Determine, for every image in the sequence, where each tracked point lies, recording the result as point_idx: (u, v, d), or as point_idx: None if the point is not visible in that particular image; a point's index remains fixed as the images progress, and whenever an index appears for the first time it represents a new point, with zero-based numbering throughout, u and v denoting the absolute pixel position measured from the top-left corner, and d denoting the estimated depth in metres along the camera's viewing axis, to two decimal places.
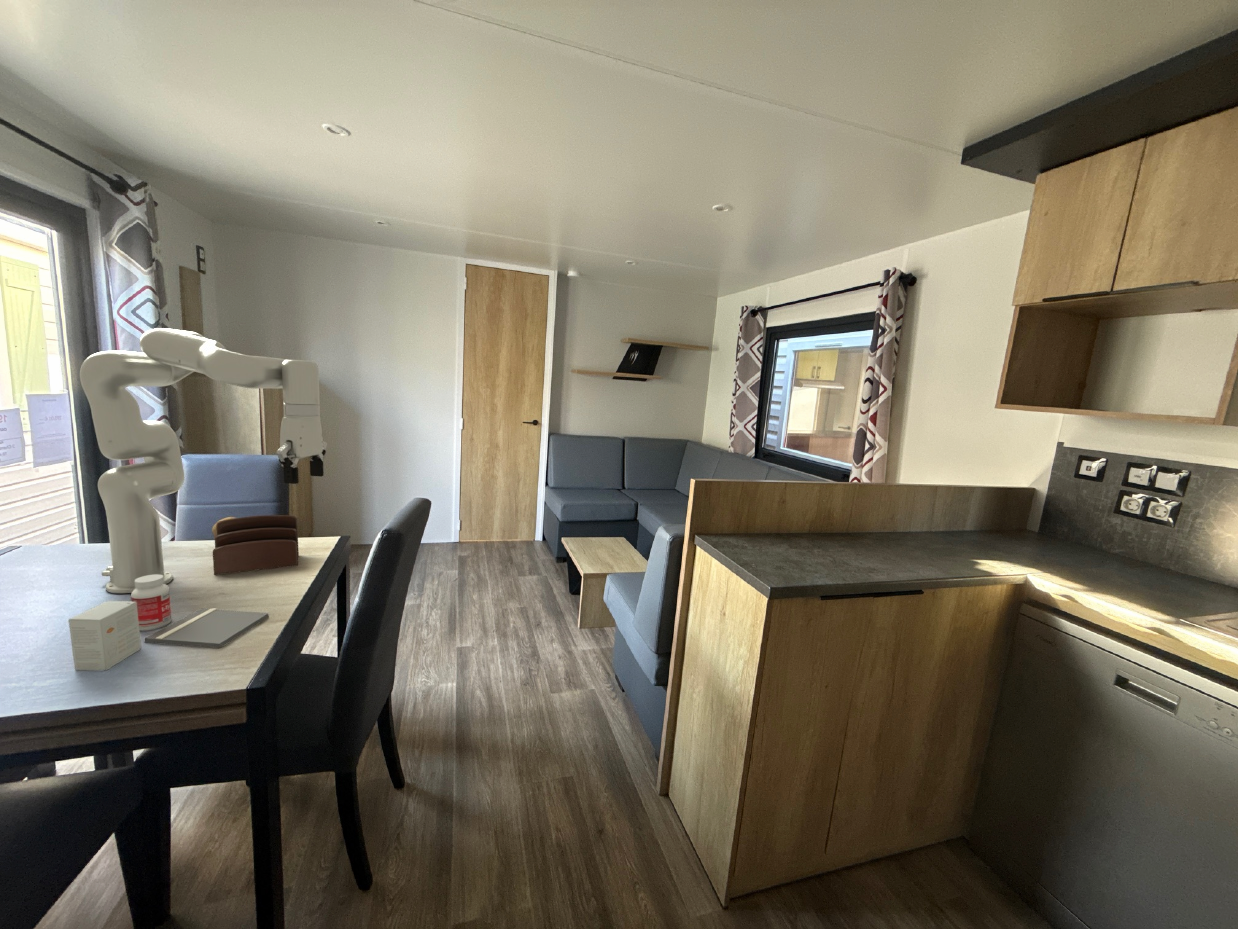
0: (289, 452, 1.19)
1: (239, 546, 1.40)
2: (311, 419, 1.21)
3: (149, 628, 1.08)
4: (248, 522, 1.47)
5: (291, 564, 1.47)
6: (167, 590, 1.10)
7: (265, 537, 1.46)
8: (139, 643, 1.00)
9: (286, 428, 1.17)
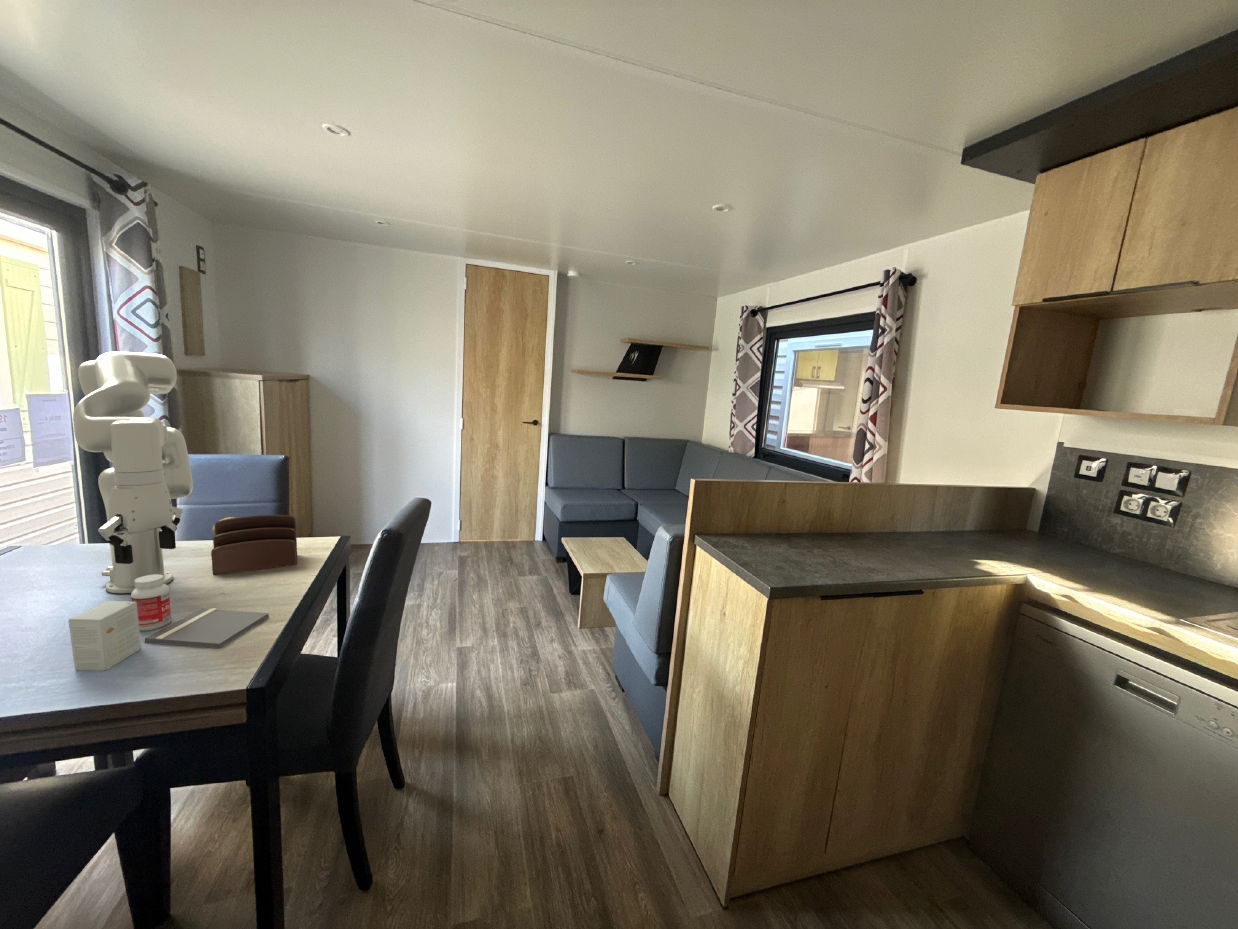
0: (122, 527, 1.03)
1: (238, 546, 1.40)
2: (150, 487, 1.05)
3: (149, 628, 1.08)
4: (246, 522, 1.47)
5: (290, 564, 1.47)
6: (167, 590, 1.10)
7: (264, 537, 1.46)
8: (139, 643, 1.00)
9: (115, 500, 1.01)
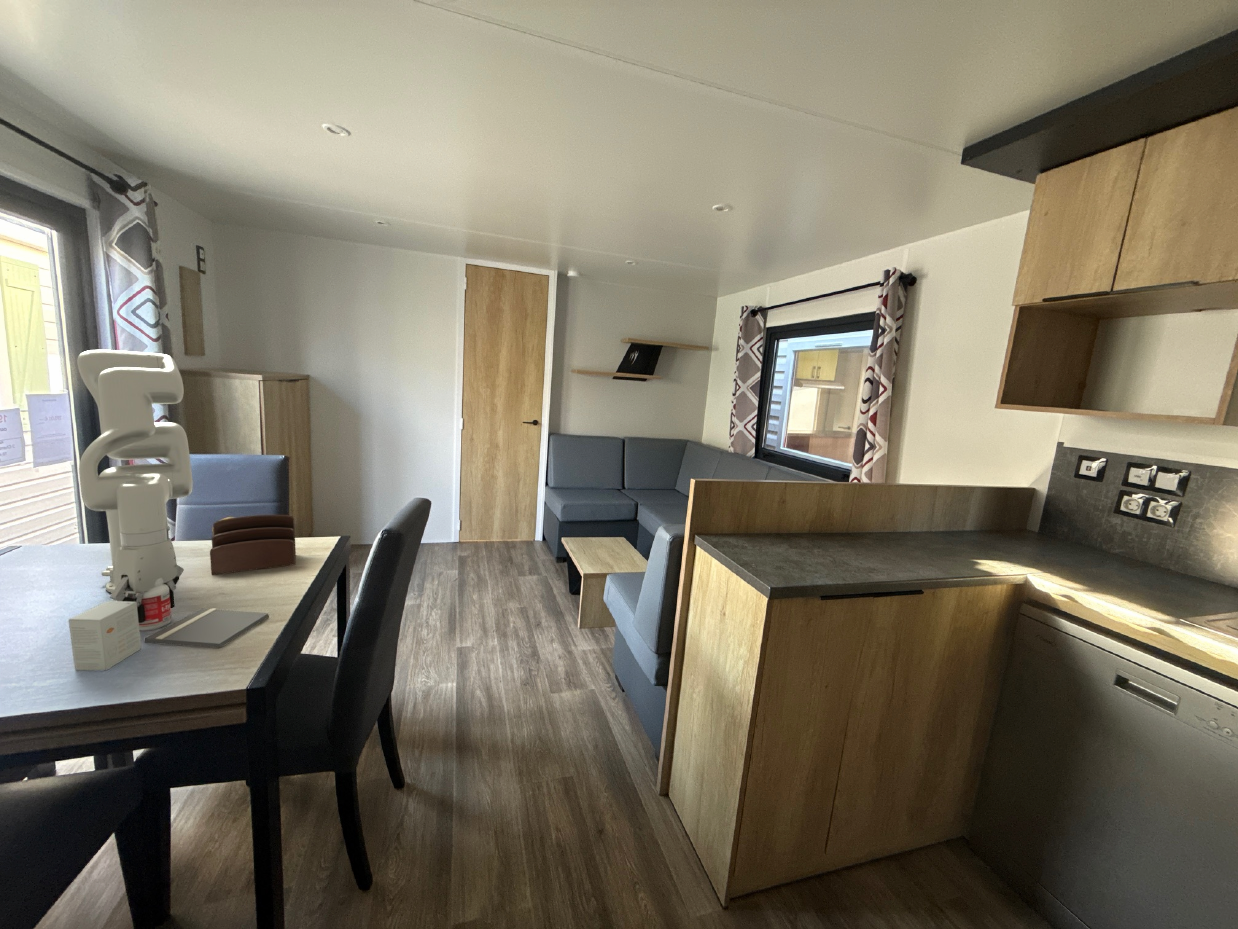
0: None
1: (236, 546, 1.40)
2: (155, 546, 1.07)
3: (149, 628, 1.08)
4: (245, 522, 1.47)
5: (289, 564, 1.47)
6: (167, 590, 1.10)
7: (262, 537, 1.46)
8: (139, 643, 1.00)
9: (121, 561, 1.03)
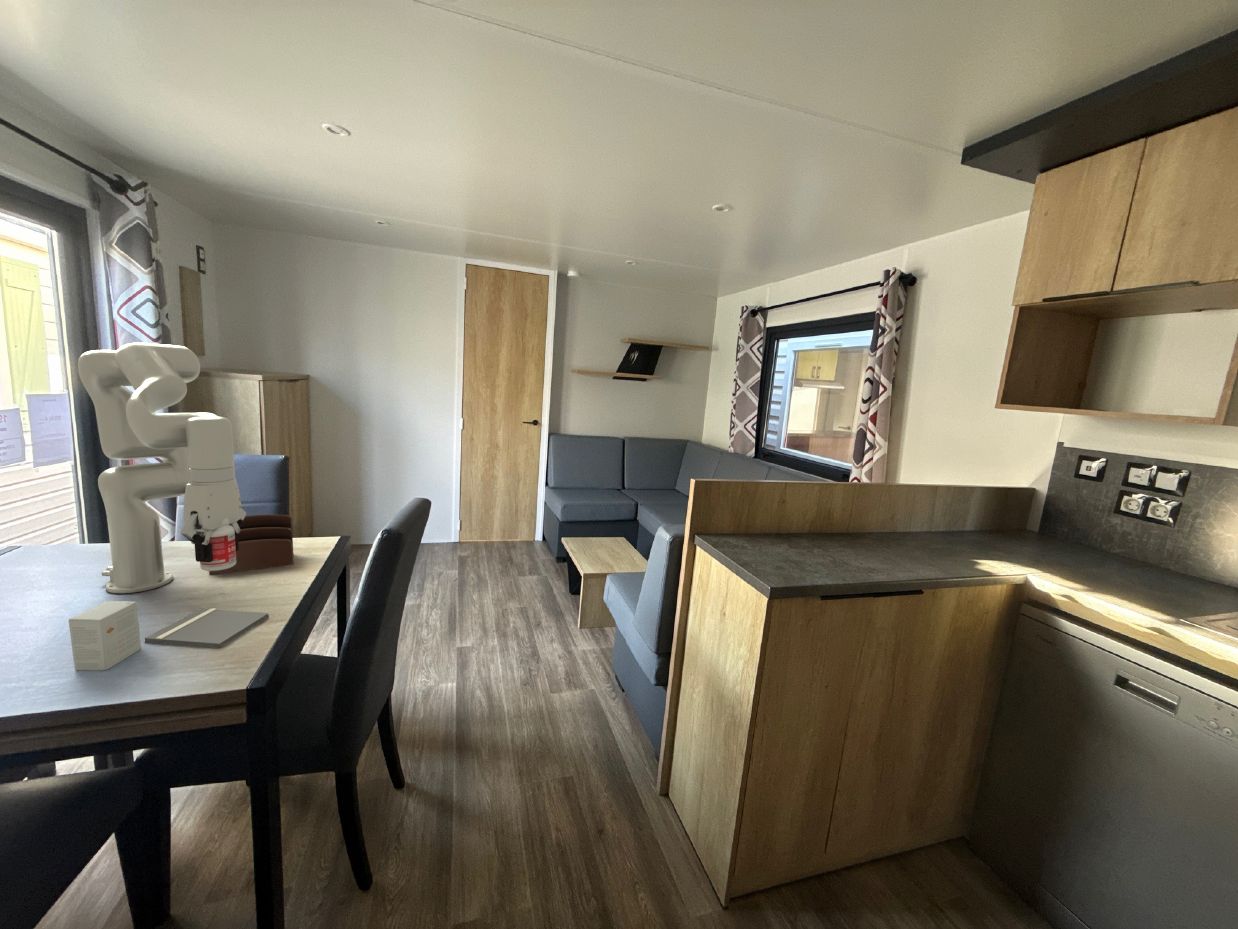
0: None
1: None
2: (223, 484, 1.04)
3: (216, 568, 1.05)
4: (242, 522, 1.47)
5: (287, 563, 1.47)
6: (233, 531, 1.07)
7: (260, 536, 1.46)
8: (139, 643, 1.00)
9: (190, 497, 1.00)
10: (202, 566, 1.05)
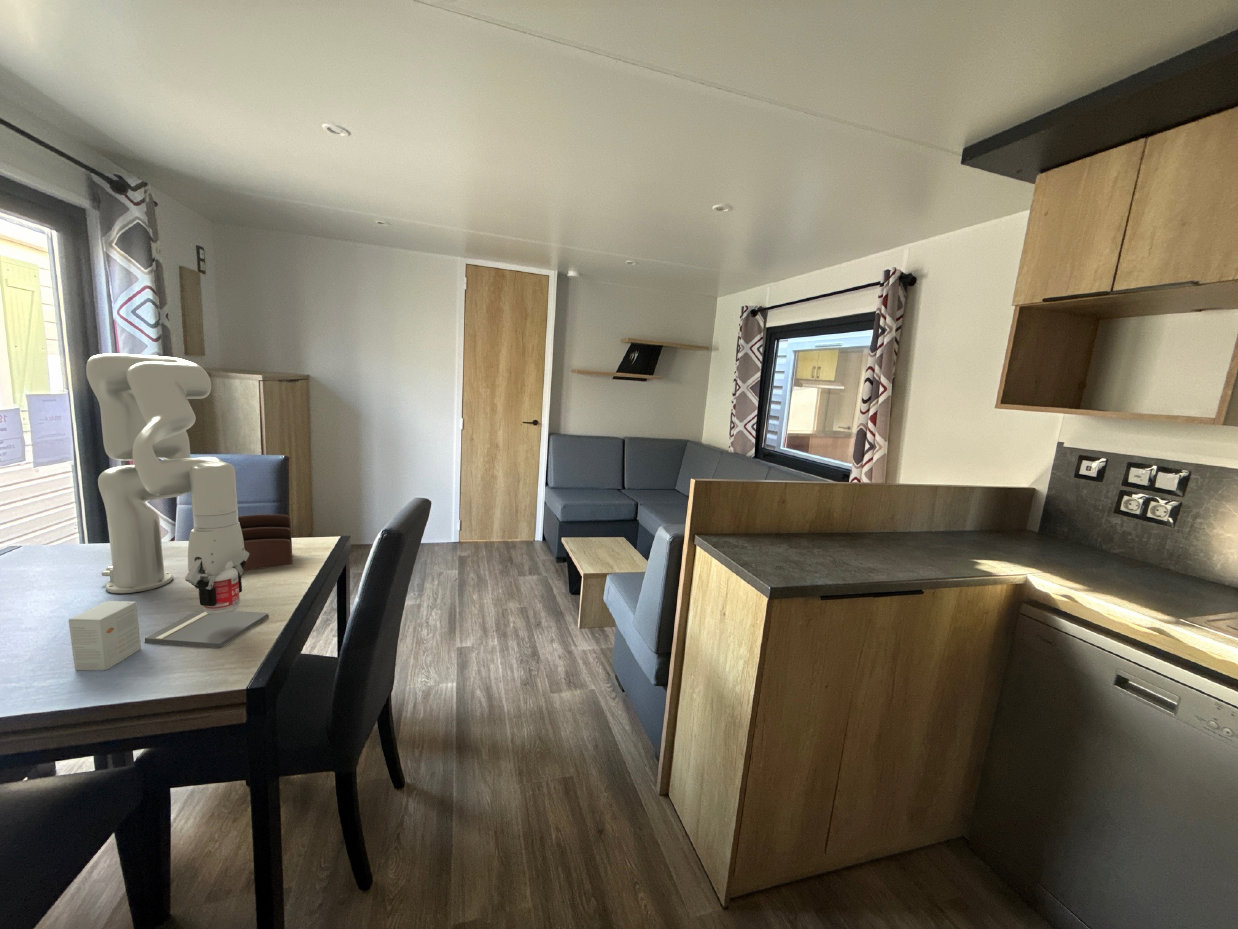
0: None
1: None
2: (226, 529, 1.06)
3: (220, 611, 1.06)
4: (241, 521, 1.47)
5: (286, 563, 1.47)
6: (236, 573, 1.09)
7: (259, 536, 1.47)
8: (139, 643, 1.00)
9: (194, 544, 1.02)
10: (206, 609, 1.06)
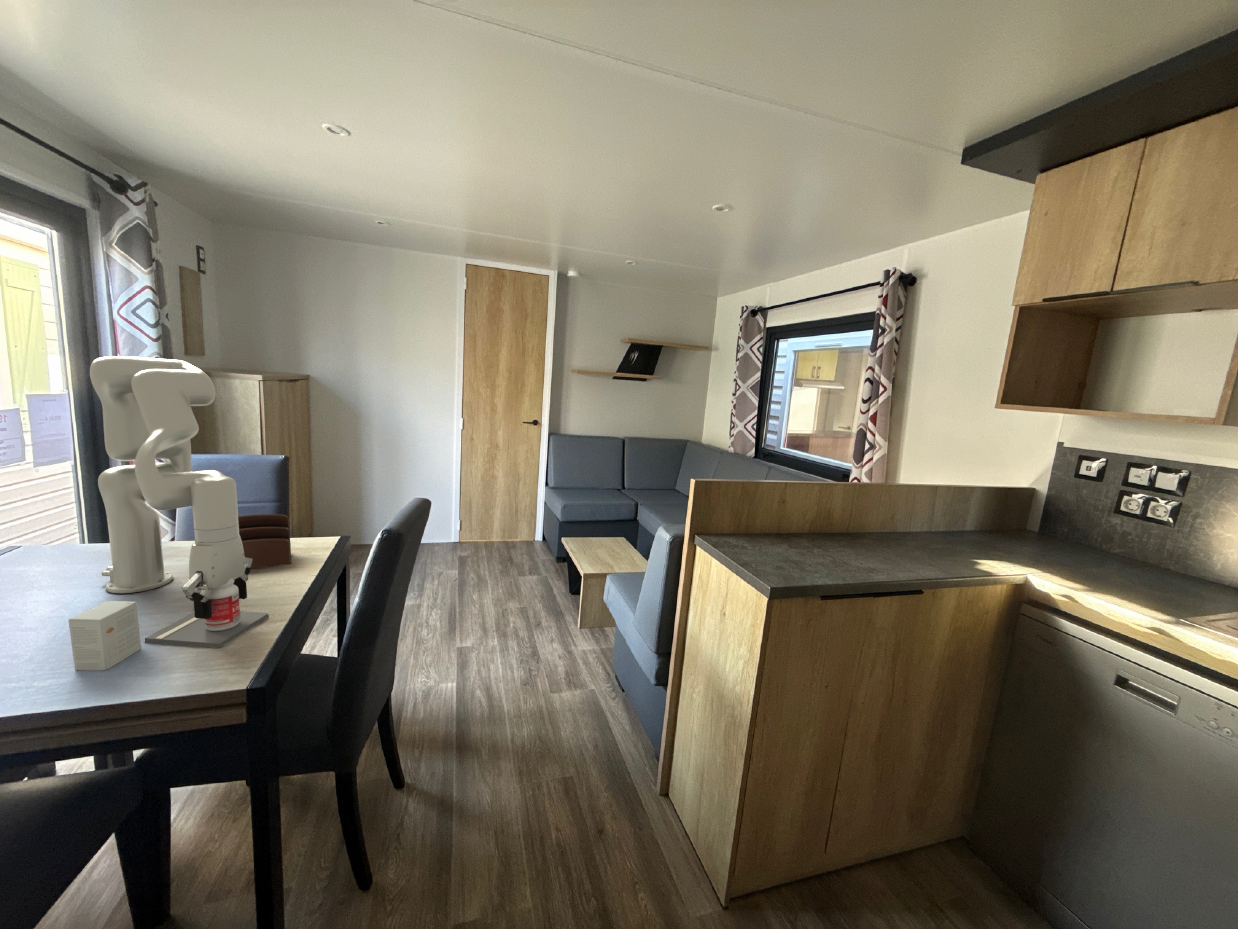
0: (201, 582, 1.04)
1: None
2: (227, 543, 1.06)
3: (221, 628, 1.07)
4: (239, 521, 1.47)
5: (284, 563, 1.48)
6: (237, 590, 1.10)
7: (257, 536, 1.47)
8: (139, 643, 1.00)
9: (195, 558, 1.02)
10: (207, 626, 1.07)
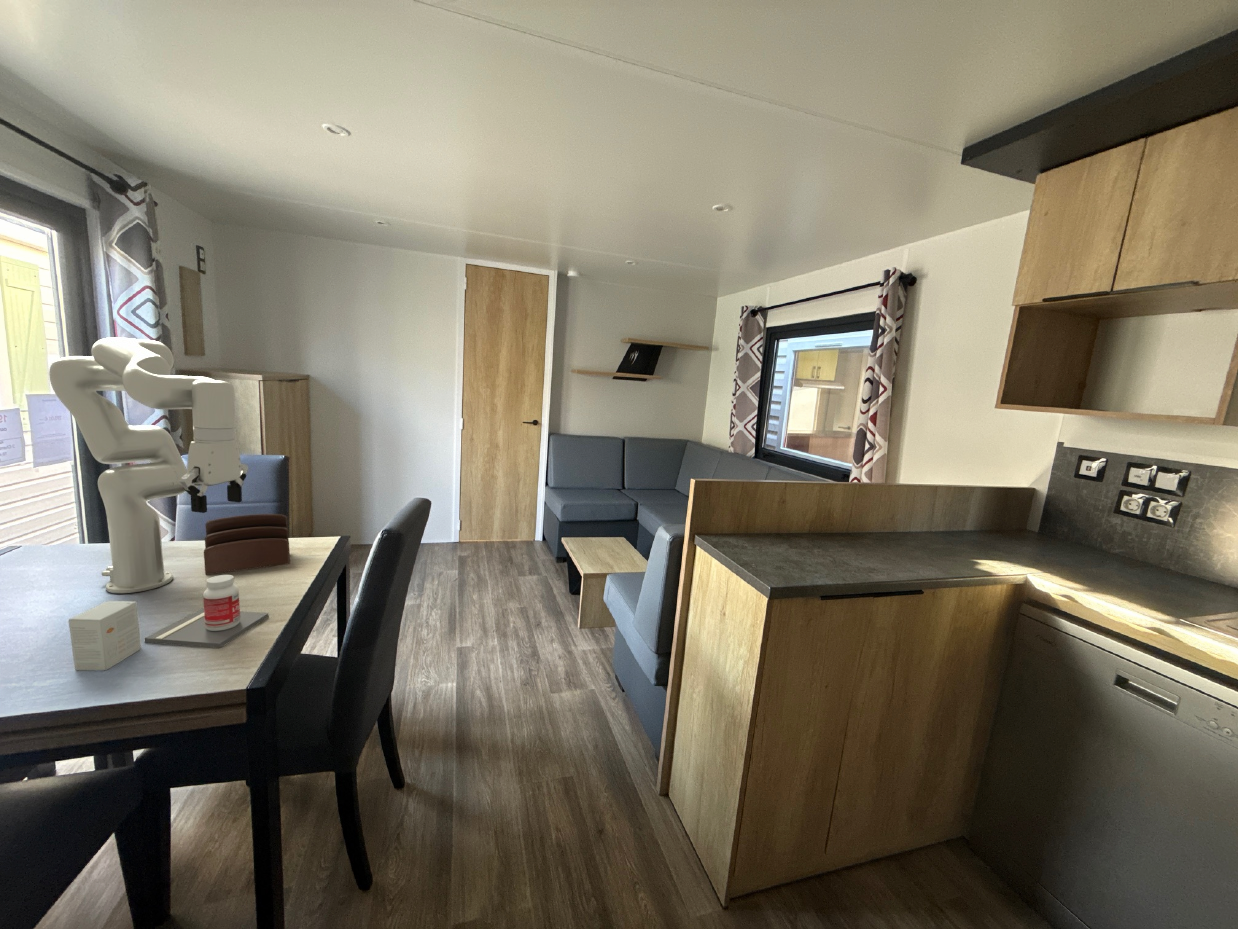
0: (198, 478, 1.11)
1: (231, 545, 1.40)
2: (224, 444, 1.13)
3: (221, 628, 1.07)
4: (237, 521, 1.47)
5: (283, 562, 1.48)
6: (237, 590, 1.10)
7: (256, 536, 1.47)
8: (139, 643, 1.00)
9: (193, 454, 1.09)
10: (207, 626, 1.07)
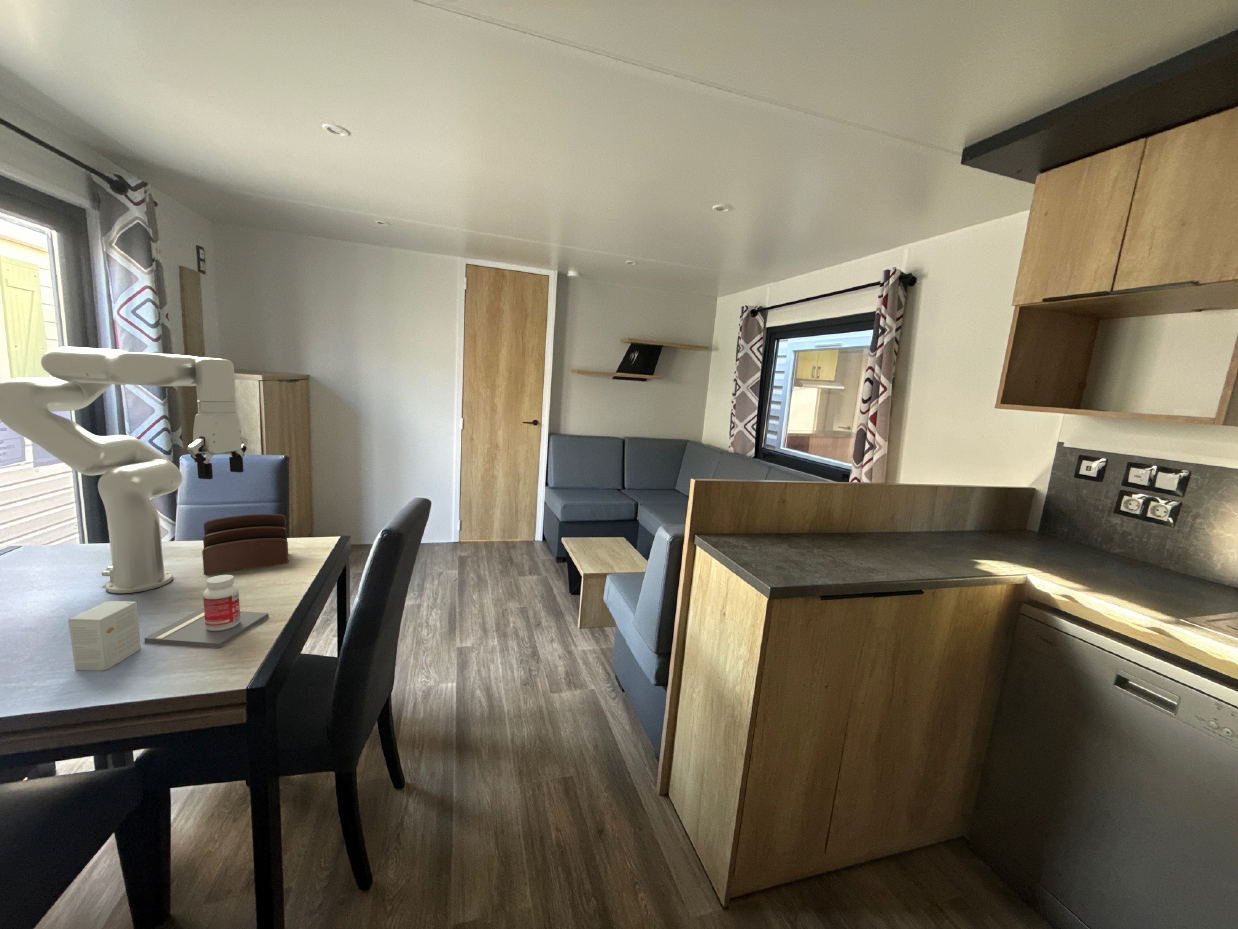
0: (203, 448, 1.21)
1: (229, 545, 1.40)
2: (226, 416, 1.23)
3: (221, 628, 1.07)
4: (236, 521, 1.47)
5: (282, 562, 1.48)
6: (237, 590, 1.10)
7: (254, 536, 1.47)
8: (139, 643, 1.00)
9: (199, 425, 1.19)
10: (207, 626, 1.07)
